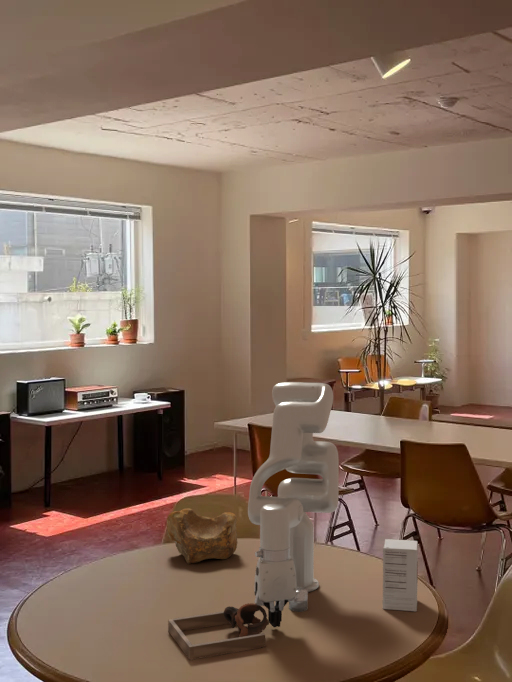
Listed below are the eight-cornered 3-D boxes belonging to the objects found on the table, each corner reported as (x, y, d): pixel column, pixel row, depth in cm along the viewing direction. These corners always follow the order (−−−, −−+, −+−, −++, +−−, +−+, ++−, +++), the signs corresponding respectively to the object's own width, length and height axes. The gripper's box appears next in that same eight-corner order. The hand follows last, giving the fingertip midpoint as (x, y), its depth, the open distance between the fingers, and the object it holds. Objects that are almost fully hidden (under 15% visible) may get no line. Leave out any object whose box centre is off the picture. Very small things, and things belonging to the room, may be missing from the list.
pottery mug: (271, 627, 216) (274, 606, 211) (258, 656, 208) (262, 635, 204) (227, 611, 218) (230, 590, 214) (213, 639, 211) (216, 618, 206)
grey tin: (286, 606, 229) (286, 588, 229) (302, 603, 231) (302, 586, 231) (293, 612, 225) (293, 594, 224) (310, 610, 226) (310, 592, 226)
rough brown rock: (160, 568, 263) (161, 523, 261) (167, 548, 280) (168, 505, 278) (235, 571, 263) (236, 525, 261) (237, 551, 279) (238, 507, 277)
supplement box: (417, 612, 225) (417, 550, 224) (382, 609, 227) (382, 548, 226) (417, 599, 234) (418, 539, 233) (384, 597, 236) (384, 538, 235)
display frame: (168, 631, 212) (168, 619, 212) (238, 620, 219) (238, 609, 219) (189, 659, 196) (189, 647, 195) (265, 647, 203) (265, 634, 202)
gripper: (253, 561, 206) (253, 635, 207) (308, 554, 212) (308, 626, 213) (241, 553, 213) (242, 624, 214) (295, 546, 219) (295, 615, 220)
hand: (274, 625), depth 213 cm, fingers closed
